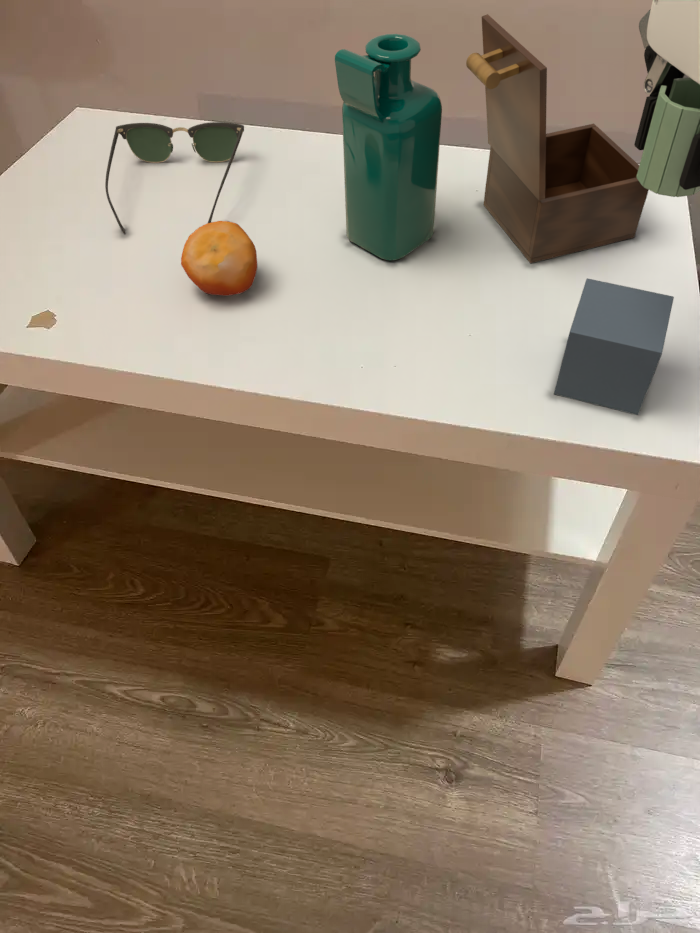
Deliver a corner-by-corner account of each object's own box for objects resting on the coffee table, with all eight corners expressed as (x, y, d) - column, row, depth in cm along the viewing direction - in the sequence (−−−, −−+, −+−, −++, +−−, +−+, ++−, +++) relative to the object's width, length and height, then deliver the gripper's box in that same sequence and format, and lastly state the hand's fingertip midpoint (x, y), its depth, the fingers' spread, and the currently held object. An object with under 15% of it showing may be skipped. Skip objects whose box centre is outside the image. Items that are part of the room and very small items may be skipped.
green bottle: (387, 206, 96) (390, 13, 79) (440, 234, 92) (455, 38, 75) (331, 242, 92) (320, 47, 74) (384, 273, 88) (386, 74, 71)
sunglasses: (96, 234, 94) (84, 197, 90) (126, 158, 104) (116, 122, 100) (233, 234, 93) (227, 196, 89) (249, 157, 104) (244, 121, 100)
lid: (487, 13, 78) (448, 28, 78) (547, 67, 71) (503, 84, 71) (493, 141, 89) (458, 154, 89) (545, 198, 82) (507, 213, 82)
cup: (708, 167, 61) (737, 82, 56) (701, 201, 58) (731, 115, 53) (642, 157, 62) (664, 73, 57) (632, 190, 59) (655, 105, 54)
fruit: (268, 243, 89) (254, 211, 82) (262, 310, 88) (247, 284, 81) (199, 240, 90) (179, 208, 82) (192, 306, 89) (171, 281, 81)
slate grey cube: (650, 359, 78) (674, 296, 72) (638, 415, 74) (662, 352, 68) (570, 341, 80) (586, 277, 74) (553, 394, 76) (569, 331, 69)
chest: (580, 182, 98) (594, 123, 92) (634, 237, 91) (652, 177, 85) (483, 204, 96) (490, 145, 90) (530, 263, 88) (541, 203, 82)
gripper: (934, -96, 41) (793, 213, 55) (729, -173, 51) (654, 104, 65) (813, -75, 39) (700, 237, 53) (627, -158, 49) (574, 122, 64)
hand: (676, 161), depth 59 cm, fingers closed on cup, 5 cm apart
